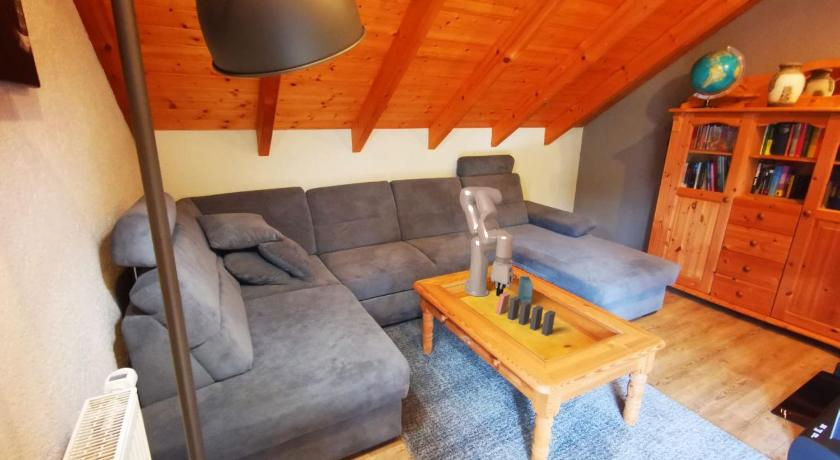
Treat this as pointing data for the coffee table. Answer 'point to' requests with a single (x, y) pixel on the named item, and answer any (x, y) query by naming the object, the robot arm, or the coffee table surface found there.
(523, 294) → the data package
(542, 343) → the coffee table surface
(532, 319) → the domino
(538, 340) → the coffee table surface
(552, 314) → the domino
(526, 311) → the domino
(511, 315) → the domino
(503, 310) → the domino
